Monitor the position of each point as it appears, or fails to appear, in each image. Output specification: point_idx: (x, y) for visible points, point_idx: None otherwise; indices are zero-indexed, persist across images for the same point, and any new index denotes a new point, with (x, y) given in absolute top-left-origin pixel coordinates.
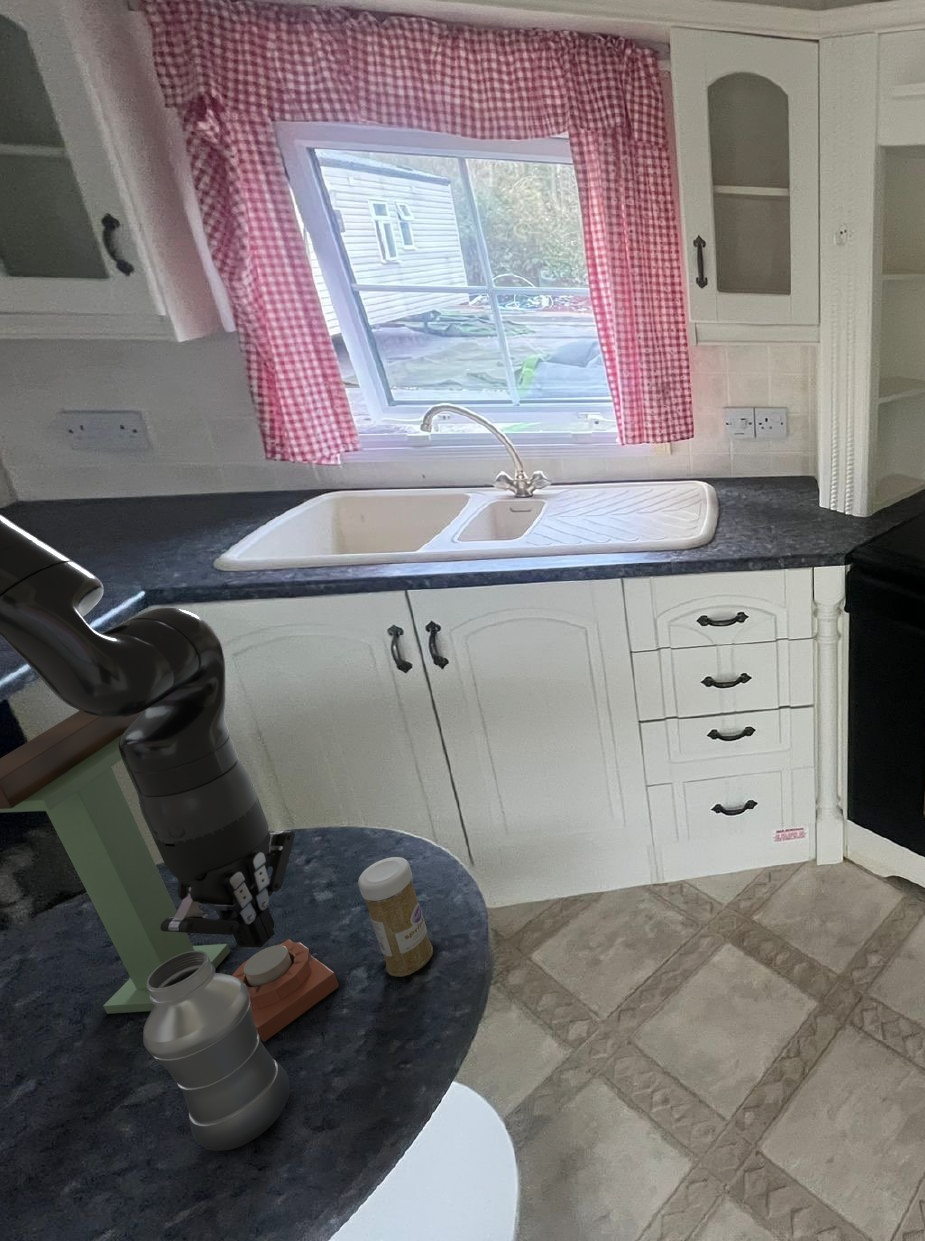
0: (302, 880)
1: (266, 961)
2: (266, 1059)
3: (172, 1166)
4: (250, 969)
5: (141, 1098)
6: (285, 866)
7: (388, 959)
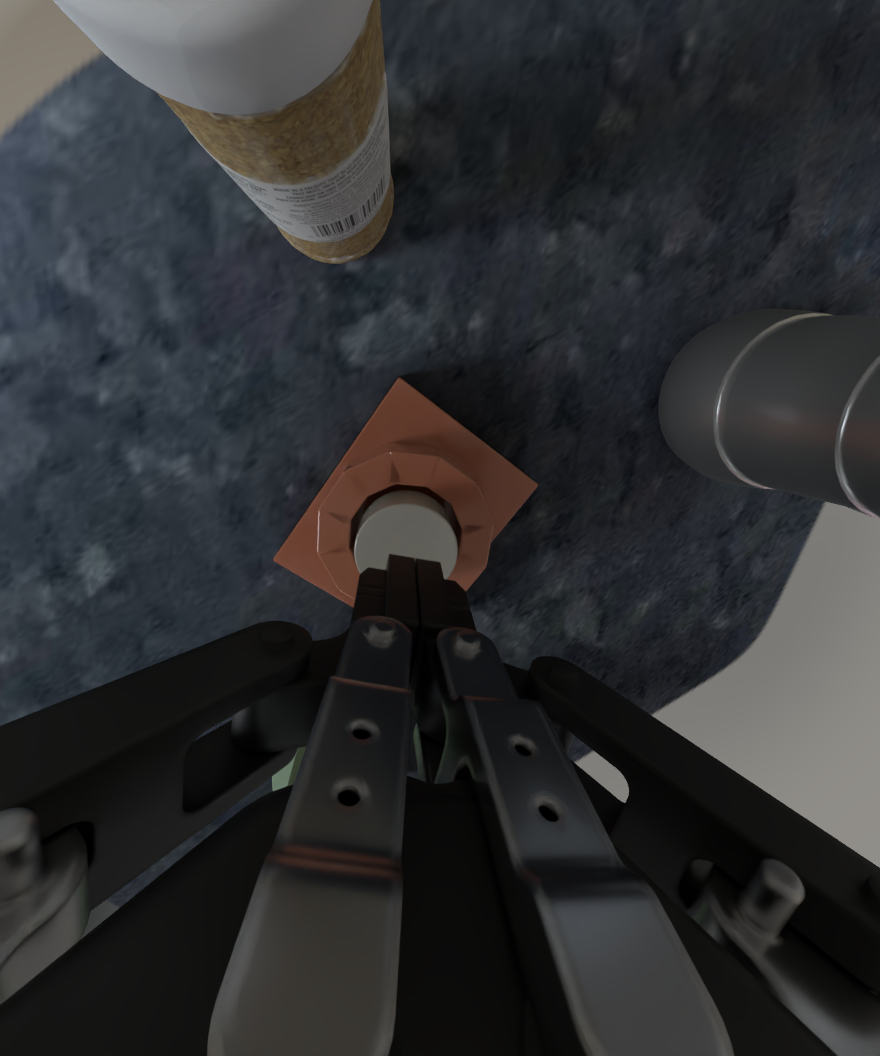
0: (49, 644)
1: (413, 547)
2: (856, 319)
3: (747, 490)
4: None
5: (592, 620)
6: (153, 674)
7: (381, 205)
